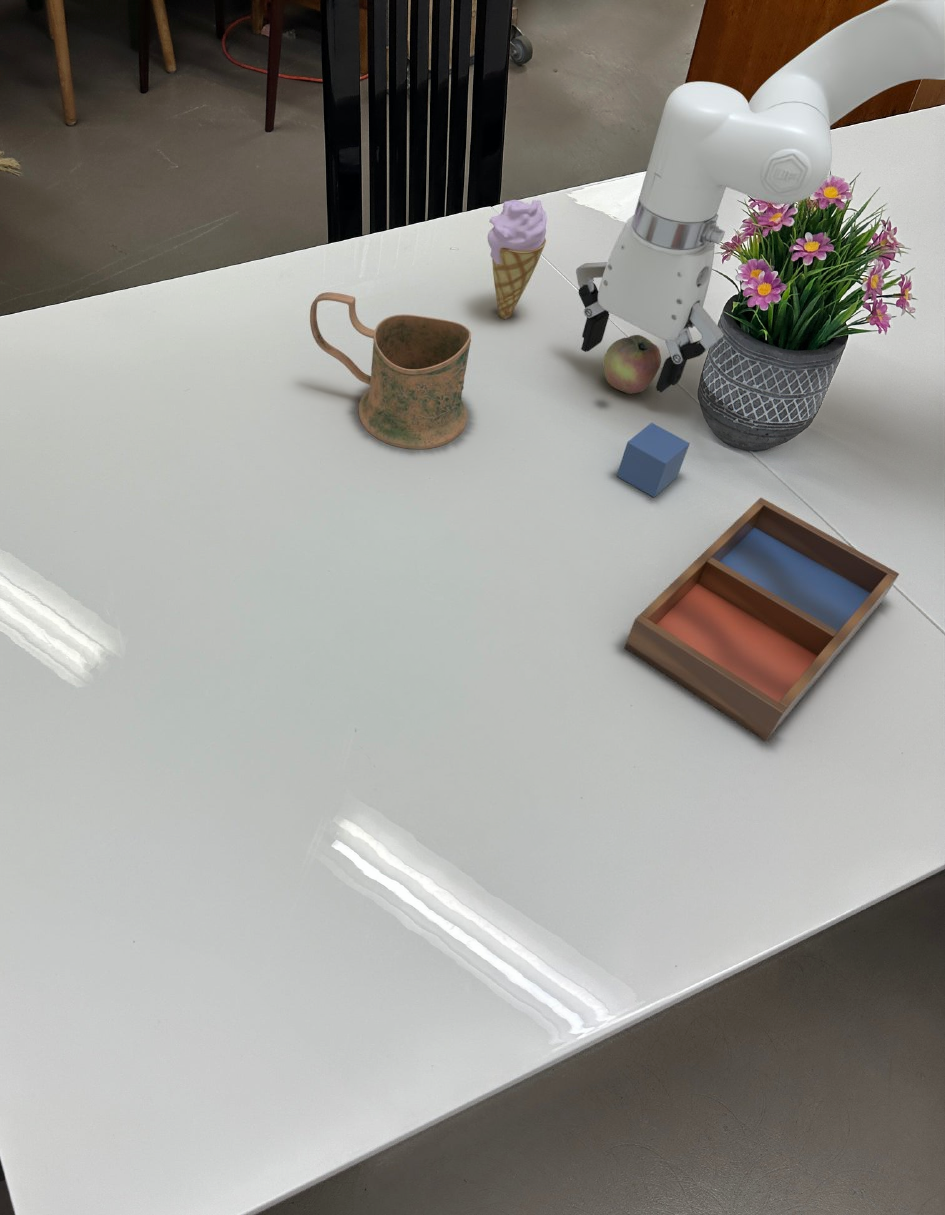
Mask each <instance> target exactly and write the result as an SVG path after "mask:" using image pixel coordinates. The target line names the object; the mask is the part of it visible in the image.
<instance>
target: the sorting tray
mask: <svg viewBox="0 0 945 1215" xmlns="http://www.w3.org/2000/svg"><path fill="white" fill-rule="evenodd" d="M899 576H900V573H899V572H898V571H896V570H893V569H892V568H890V567H888V566H886V565H885V564H883V563H882V562H879V561H877V560H876V559H874V558H872V557H870V556H868V555H866V554H865V553H862V552H861V551H859V550H857V549H856V548H854V547H852V546H850V545H848V544H846V543H844V542H843V541H841V540H840V539H837V538H835V537H834V536H832V535H830V534H828V533H827V532H824V531H823V530H821V529H819V528H818V527H815V526H813V525H812V524H810V523H809V522H807V521H804V520H803V519H801V518H799V517H797V516H796V515H794V514H792V513H791V512H788V511H786V510H785V509H783V508H781V507H779V506H777V505H775V504H774V503H772V502H770V501H769V500H767V499H764V498H763V497H759V498H758V499H757V500H756V501H755V502H754V503H753V504H752V505H751V506H750V507H749V508H748V509H747V510H746V511H745V512H744V513H743V514H742V515H741V516H740V517H739V518H738V519H737V520H736V521H735V522H733V524H731V525H730V527H728V529H727V530H725V531H724V532H723V533H722V534H721V535H720V536H719V537H718V538H717V539H716V540H715V541H714V542H713V543H712V544H710V545H709V547H708V548H706V549H705V551H704V552H703V553H701V554H700V555H699V557H697V559H695V560H694V561H693V562H692V563H691V564H690V565H689V566H688V567H687V568H685V570H684V571H683V572H682V573H681V574H680V575H679V576H678V577H677V578H676V579H675V580H674V581H673V582H672V583H670V584H669V585H668V586H667V587H666V588H665V589H664V590H663V591H662V592H661V593H660V594H659V595H658V596H657V597H656V598H655V599H654V600H653V601H652V602H651V603H650V604H649V605H648V606H647V607H645V609H644V610H643V611H642V612H641V613H640V614H638V615H637V616H636V617H634V621H633V623H632V626H631V628H630V632H629V634H628V635H627V639H626V641H625V645H624V647H623V648H624V649H626V650H627V651H629V652H630V653H632V654H633V655H635V656H636V657H638V658H639V659H640V660H643V661H644V662H645V663H647V664H649V666H651V667H652V668H654V669H656V670H658V671H659V672H660V673H662V674H664V675H665V676H667V677H668V678H670V679H671V680H673V681H674V682H676V683H677V684H679V685H681V686H682V687H684V688H685V689H686V690H688V691H689V692H691V693H692V694H694V695H696V696H697V697H699V698H700V699H701V700H703V701H705V702H706V703H708V704H709V705H711V706H712V707H714V708H716V709H717V710H718V711H720V712H721V713H723V714H724V715H726V716H727V717H729V718H730V719H733V720H734V721H735V722H736V723H738V724H740V725H742V726H743V727H744V728H746V729H747V730H749V731H751V732H752V733H753V734H755V735H756V736H758V737H760V738H761V739H762V740H764V741H766V742H767V741H768V740H769V739H770V737H772V735H773V734H774V733H775V732H776V731H777V729H778V728H779V727H780V725H781V724H782V723H783V722H784V721H785V719H787V717H788V716H789V715H790V713H792V711H793V710H794V709H795V708H796V706H797V705H798V704H799V703H800V701H802V699H803V698H804V697H805V695H807V693H808V692H809V690H810V689H811V688H812V687H813V686H814V684H815V683H816V682H817V681H818V680H819V678H820V677H821V676H822V675H823V674H824V672H825V671H826V670H827V669H828V668H829V667H830V665H831V664H832V663H833V662H834V661H835V659H836V658H837V657H838V655H840V653H841V652H842V650H844V648H845V647H847V644H848V643H850V641H851V640H852V639H853V637H855V635H856V634H857V633H858V631H860V629H861V628H862V626H864V624H865V623H866V622H867V620H868V619H869V618H870V617H871V616H872V615H873V613H874V612H875V611H876V610H877V608H878V607H879V606H880V605H881V604H882V602H883V601H884V599H885V598H886V596H887V594H888V593H889V591H890V589H891V588H892V587H893V585H894V583H895V582H896V580H897V578H898V577H899Z"/></svg>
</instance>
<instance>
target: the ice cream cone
mask: <svg viewBox="0 0 945 1215" xmlns="http://www.w3.org/2000/svg"><path fill="white" fill-rule="evenodd" d="M502 204H503V205H502V210H501V213H500V214H498V215H494V216H492V217H491V216H490V219H489V223H491V224H492V226H493V227H492V228H491V229H490V230H489V231H488V233H487V242H488V246H489V247H490V248H489V249H490V258H491V262H492V274H493V283H494V292H495V299H496V305H497V306H496V307H497V312H498V314H497V315H498V316H499V318H501V319H505V320H507V319H509V318H511V316H512V314H513V312H514V310H515V308H516V306H517V305H518V303H519V301H520V299H521V297H522V296H523V294H524V292H525V291H526V288H527V287H528V284H529V282H530V280H531V278H532V276H533V273H535V272H534V271H535V269H536V267H537V265H538V262H539V260H540V258H541V256H542V253H543V251H544V248H545V246H546V243H547V239H546V234H547V222H548V217H547V214H546V211H545V209H544V208H543V205H542V201H541V200H539V199H537V200H535V199H533V200H532V201H531V203H527V202H524V201H522V200H519V199H511V200H507V201H503V203H502Z"/></svg>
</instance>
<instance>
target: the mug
mask: <svg viewBox="0 0 945 1215" xmlns="http://www.w3.org/2000/svg"><path fill="white" fill-rule="evenodd" d="M322 301H328V302H329V301H331V302H336V303H341V304H346V305H347V306H348V316H349V320H350V323H351V326H352V327H353V329H355V330H356V332H358V333H359V334H360V335H363V336H365V337H366V338H371V339H373V345H372V357H371V371H370V374H367V373H365V372H364V371H362V370H361V369H360V368H359V367H358V365H357V364H356V363H355V362H354V361H353V360H352V359H351V358H350V357H349V356H348V355H346V354H345V353H344V352H343V351H341V350H339V349H338V348H336V347H335V346H333V345H332V344H330V343H329V342H328V341H326V340H325V338H324V337H323V336H322V334H321V331H320V329H319V324H318V319H317V318H318V317H317V316H318V315H317V314H318V312H317V311H318V310H317V309H318V304H319V303H320V302H322ZM309 324H310V330H311V334H312V337H313V339H314V342H315V343H316V344H317V346H318V347H319V348H320V349H321V351H324V352H325V353H326V354H327V355H329V356H331V357H333V358H335V359H336V360H338V361H339V362H340V363H342V364H343V365H344V366H345V367H346V368H347V370H348V371H350V373H351V374H352V375H353V376H354V377H355V378H356V379H357V380H358V381H360V382H361V383H364V384H366V385H369V389H367V390H366V391H365V392H364V394H362V396H361V398H360V401H359V402H358V416H359V420H360V422H361V424H362V426H363V427H364V429H365V430H366V431H367V432H368V433H369V434H370V435H372V436H373V437H374V438H375V439H377V440H379V441H381V442H384V443H385V444H388V445H391V446H394V447H397V448H401V449H410V450H427V449H435V448H438V447H441V446H445V445H446V444H449V443H451V442H452V441H454V440H455V439H456V438H458V437H459V436H460V435H461V434H462V433H463V431H464V430H465V428H466V424H467V420H468V412H467V410H468V409H467V407H466V404H465V402H464V401H463V400H462V396H463V390H464V388H465V387H464V385H465V375H466V372H467V371H466V370H467V365H468V358H469V354H470V353H469V352H470V346H471V342H472V339H471V338H472V332H471V331H470V329H469V328H468V327H467V326H466V325H463V324H461V323H459V322H457V321H452V320H447V319H443V318H435V317H429V316H424V315H423V316H422V315H415V314H395V315H391V316H388V317H386V318H383V319H382V320H381V321H380V322H378V324H377V325H376V327H375V329H372V328H370V327H367V326H365V325H364V324H363V323H362V322H361V321H360V320H359V317H358V315H357V310H356V297H355V296H352V295H349V294H344V293H339V292H331V291H330V292H322V293H320V294H318V295H317V296H316V297H315V298H314V300H313V301H312V303H311V306H310V312H309Z"/></svg>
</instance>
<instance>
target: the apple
mask: <svg viewBox="0 0 945 1215" xmlns="http://www.w3.org/2000/svg"><path fill="white" fill-rule="evenodd" d="M602 362H603V364H602V365H603V366H602V367H603V373H604V377H605V380H606V381H607V382H606V383H608V384H609V385H610V387H612V388H614V389H615V390H618V391H621V392H623V393H625V394H629V395H630V394H637V393H638V394H639V393H642V392H643V391H645V390H646V389H647V388H648V386H649V385H650V384H651V383H652V381H654V379H655V377H656V376H657V373H658V371H659V370H660V367H661V365H662V355H661V350H660V348H659V347H658V346H657V345H656V344H654V343H653V342H652V340H649V339H648V338H646V337H645V336H643V335H640V334H632V335H630V336H628V337H627V336H626V337H622V338H620V339H617V340H615V341H614V342H613V343H612V344H611V345H610V346H608V349H607V350H606V352H605V354H604V357H603V361H602Z"/></svg>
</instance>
